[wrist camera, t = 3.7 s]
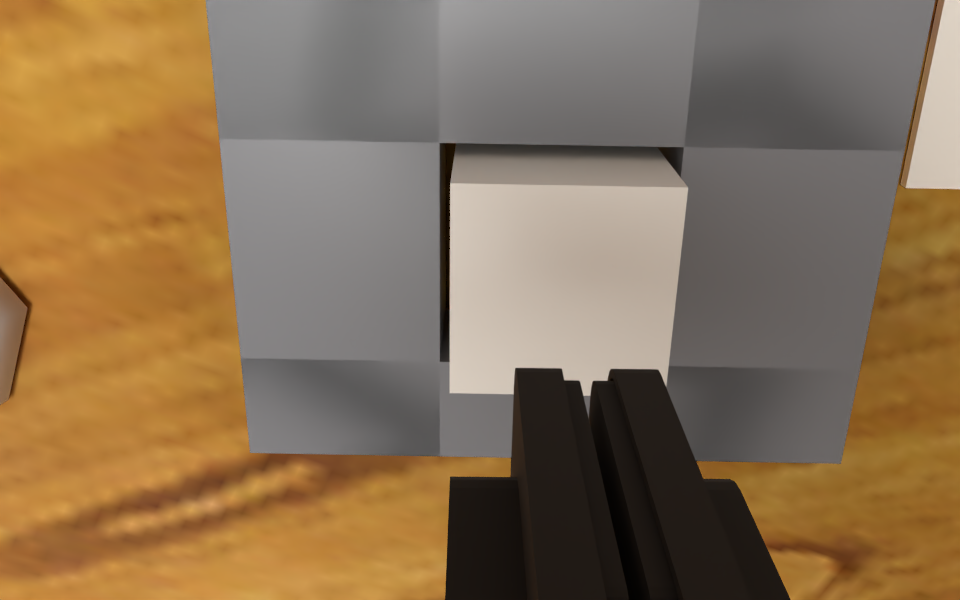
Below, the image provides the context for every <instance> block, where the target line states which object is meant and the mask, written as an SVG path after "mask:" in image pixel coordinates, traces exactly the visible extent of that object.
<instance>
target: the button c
mask: <svg viewBox="0 0 960 600" xmlns="http://www.w3.org/2000/svg"><path fill="white" fill-rule="evenodd" d="M687 195H688V187H687V185H686V184H685V183H684V181H683V180H682V179H681V178H680V176H679V175H678V174H677V172H676V171H675V170H674V169H673V167H672V166H671V165H670V163H669V162H668V161H667V159H666V158H665V157H664V156H663V154H662V153H661V152H660V150H659V149H658V148H657V147H644V146H588V145H531V144H475V143H456V148H455V154H454V161H453V168H452V174H451V181H450V393H468V394H514V375H515V368H561V369H562V372H563V376H564V380H579V381H580V383H581V387H582V392H583V396H590V394H591V386H592V382H593V381H608V375H609V372H610V370H611V369H658V370H659V372H660V373H661V376H662V378H663V381H664V383H665V386H666V385H667V376H668V367H669V358H670V349H671V340H672V331H673V322H674V313H675V303H676V294H677V285H678V276H679V267H680V258H681V249H682V240H683V231H684V222H685V213H686V204H687Z"/></svg>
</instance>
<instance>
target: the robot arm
mask: <svg viewBox="0 0 960 600" xmlns="http://www.w3.org/2000/svg"><path fill="white" fill-rule="evenodd" d="M445 600H790V598H789V596H788V593H787V591H786V589H785V587H784V585H783V582H782V580H781V578H780V576H779V574H778V572H777V569H776V567H775V565H774V563H773V561H772V558H771V556H770V554H769V552H768V550H767V548H766V545H765V543H764V541H763V539H762V537H761V534H760V532H759V530H758V528H757V526H756V524H755V521H754V519H753V517H752V515H751V513H750V511H749V508H748V506H747V504H746V502H745V500H744V497H743V495H742V493H741V491H740V489H739V488H738V486H737V484H736V483H735V482H734V481H732V480H730V479H703V477H702V475H701V472H700V470H699V468H698V465H697V463H696V460H695V458H694V455H693V453H692V450H691V448H690V445H689V443H688V440H687V438H686V435H685V433H684V430H683V428H682V425H681V423H680V420H679V418H678V415H677V413H676V410H675V408H674V406H673V403H672V401H671V398H670V396H669V393H668V391H667V388H666V386H665V383H664V381H663V378H662V376H661V373H660V372H659V370H658V369H611V370H610V372H609V375H608V381H593V382H592V386H591V394H590V407H589V418H588V414H587V409H586V405H585V401H584V396H583V392H582V387H581V383H580V381H579V380H564V376H563V372H562V369H561V368H515V375H514V397H513V425H512V452H511V477H450V493H449V519H448V545H447V570H446V596H445Z"/></svg>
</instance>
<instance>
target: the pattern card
mask: <svg viewBox="0 0 960 600" xmlns="http://www.w3.org/2000/svg"><path fill="white" fill-rule="evenodd" d="M900 185H901V186H903V187H905V188H927V189H960V0H938V3H937V8H936V13H935V18H934V23H933V28H932V32H931V37H930V42H929V47H928V52H927V57H926V62H925V67H924V71H923V76H922V81H921V86H920V91H919V96H918V101H917V106H916V110H915V115H914V120H913V125H912V130H911V135H910V140H909V145H908V149H907V154H906V159H905V164H904V169H903V174H902V179H901V184H900Z"/></svg>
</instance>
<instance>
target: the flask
mask: <svg viewBox="0 0 960 600" xmlns="http://www.w3.org/2000/svg"><path fill="white" fill-rule="evenodd" d="M27 309H28V308H27V307H26V306H25V304H24V303H23V302H22V301H21V300H20V299H19V298H18V297H17V295H16V294H15V293H14V292H13V291H12V290H11V289H10V287H9V286H8V285H7V284H6V283H5V282H4V281H3V280H2V278H1V277H0V405H1V404H2V403H4V402H6V401H7V400H9V395H10V390H11V386H12V381H13V376H14V371H15V366H16V362H17V357H18V352H19V347H20V342H21V337H22V333H23V328H24V323H25V318H26V313H27Z"/></svg>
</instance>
